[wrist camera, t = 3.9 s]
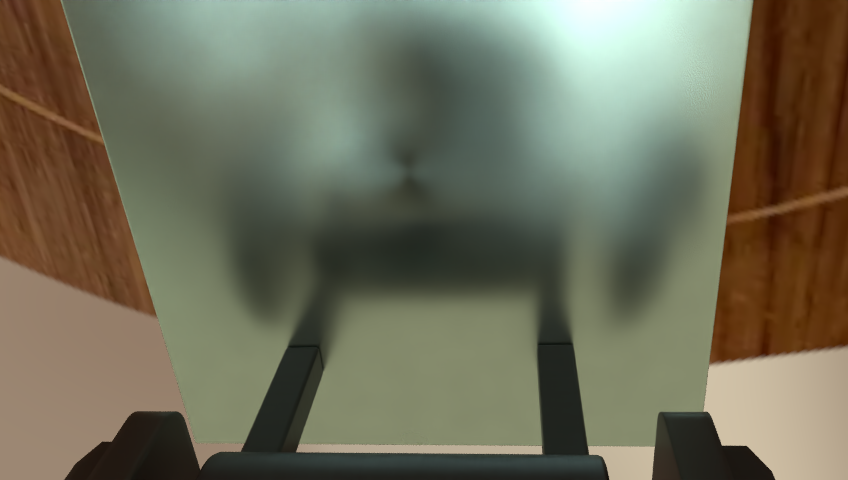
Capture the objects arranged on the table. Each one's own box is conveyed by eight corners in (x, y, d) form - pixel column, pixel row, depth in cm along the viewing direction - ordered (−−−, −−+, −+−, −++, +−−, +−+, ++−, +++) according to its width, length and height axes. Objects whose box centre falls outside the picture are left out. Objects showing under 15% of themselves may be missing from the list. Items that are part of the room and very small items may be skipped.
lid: (690, 419, 16) (781, 699, 10) (208, 418, 17) (79, 665, 12) (772, -305, 10) (1069, -476, 5) (25, -218, 11) (-389, -275, 6)
